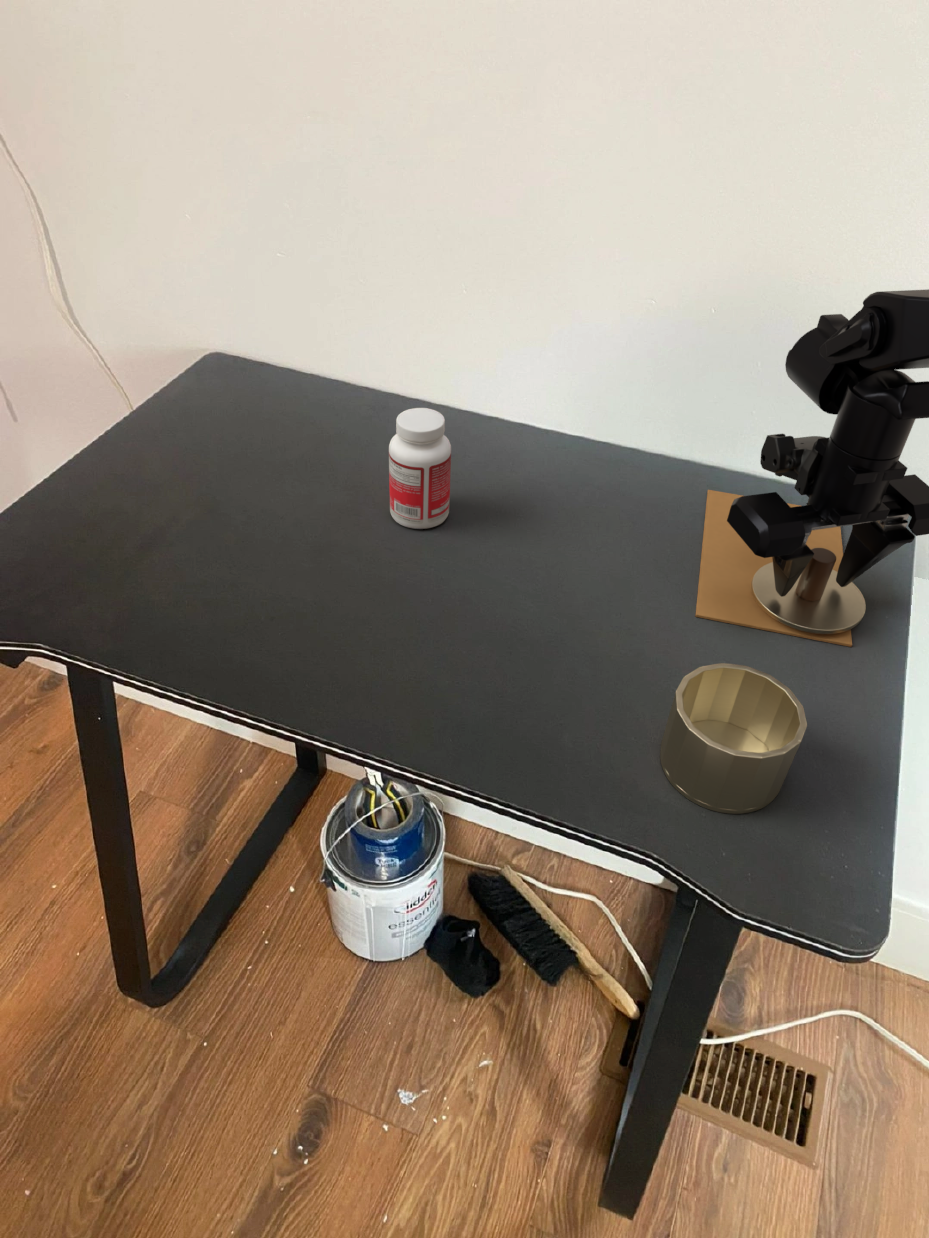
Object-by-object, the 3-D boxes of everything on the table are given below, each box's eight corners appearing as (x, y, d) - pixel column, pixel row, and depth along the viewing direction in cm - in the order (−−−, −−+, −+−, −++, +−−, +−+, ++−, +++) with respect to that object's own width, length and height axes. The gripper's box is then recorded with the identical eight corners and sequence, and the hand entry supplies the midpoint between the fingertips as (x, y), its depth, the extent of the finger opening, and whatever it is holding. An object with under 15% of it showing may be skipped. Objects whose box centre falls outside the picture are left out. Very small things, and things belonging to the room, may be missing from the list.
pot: (744, 711, 76) (764, 655, 72) (805, 800, 70) (831, 743, 65) (640, 731, 74) (655, 674, 70) (693, 825, 67) (712, 768, 63)
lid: (822, 562, 92) (840, 516, 88) (884, 629, 85) (906, 582, 81) (729, 576, 90) (744, 529, 86) (785, 647, 82) (803, 599, 78)
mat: (838, 514, 99) (839, 512, 99) (851, 647, 83) (852, 644, 83) (707, 491, 101) (708, 489, 101) (695, 616, 85) (695, 614, 85)
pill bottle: (443, 495, 98) (446, 402, 91) (454, 528, 94) (458, 433, 87) (385, 499, 97) (384, 405, 90) (393, 533, 93) (393, 437, 85)
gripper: (902, 387, 84) (847, 527, 94) (718, 406, 79) (682, 550, 90) (985, 450, 76) (915, 595, 86) (785, 474, 71) (737, 624, 82)
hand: (810, 588), depth 86 cm, fingers open, 6 cm apart
